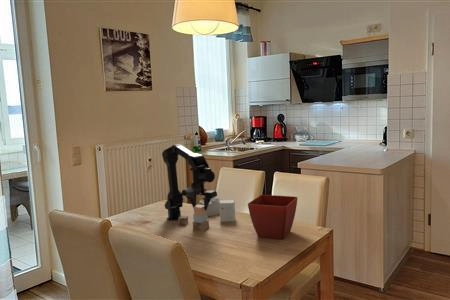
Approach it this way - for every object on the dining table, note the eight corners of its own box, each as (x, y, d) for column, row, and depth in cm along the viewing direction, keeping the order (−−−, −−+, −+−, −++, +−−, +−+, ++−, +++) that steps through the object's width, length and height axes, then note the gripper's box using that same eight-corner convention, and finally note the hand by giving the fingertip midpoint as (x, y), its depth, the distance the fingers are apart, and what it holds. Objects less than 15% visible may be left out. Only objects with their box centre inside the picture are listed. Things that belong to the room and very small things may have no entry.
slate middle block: (193, 221, 203) (193, 214, 203) (198, 219, 208) (198, 211, 207) (201, 223, 201) (201, 215, 200) (207, 220, 205) (206, 212, 205)
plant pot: (262, 225, 203) (261, 194, 201) (298, 229, 195) (298, 196, 193) (248, 238, 186) (246, 203, 184) (287, 243, 178) (286, 206, 176)
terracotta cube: (194, 214, 203) (193, 206, 202) (199, 212, 207) (198, 204, 206) (201, 215, 200) (200, 207, 200) (206, 212, 204) (205, 205, 204)
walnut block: (178, 225, 212) (178, 218, 211) (181, 222, 215) (180, 215, 215) (186, 225, 211) (185, 218, 210) (188, 223, 215) (187, 215, 214)
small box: (235, 218, 218) (234, 199, 217) (234, 221, 213) (234, 202, 211) (221, 218, 219) (220, 200, 218) (220, 221, 214) (219, 203, 212)
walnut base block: (193, 229, 204) (192, 222, 203) (199, 226, 209) (199, 218, 208) (202, 231, 201) (202, 223, 200) (209, 227, 206) (208, 220, 205)
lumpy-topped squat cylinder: (198, 212, 233) (197, 198, 232) (217, 208, 240) (216, 194, 238) (206, 216, 224) (205, 202, 223) (226, 212, 231) (225, 198, 229)
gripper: (174, 181, 199) (176, 211, 201) (204, 184, 190) (206, 215, 192) (187, 177, 209) (189, 206, 211) (217, 179, 199) (218, 209, 201)
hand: (200, 209), depth 203 cm, fingers open, 7 cm apart
